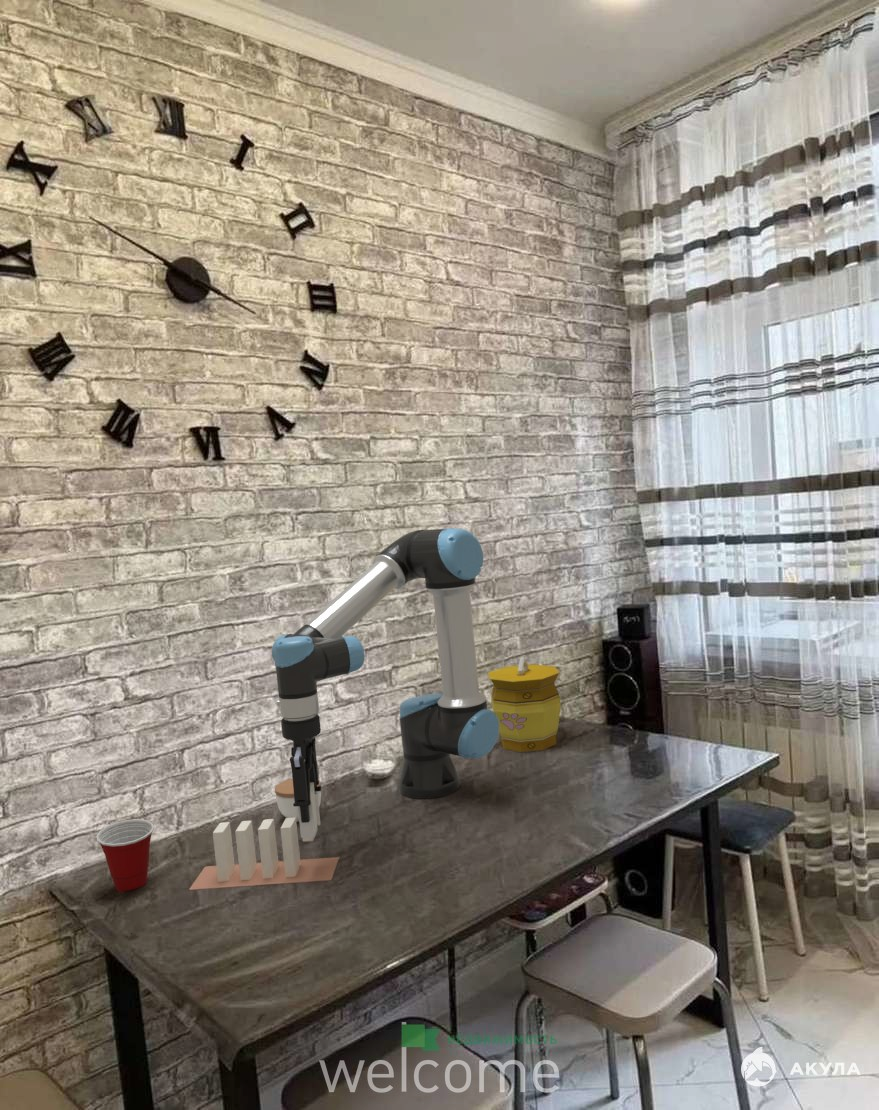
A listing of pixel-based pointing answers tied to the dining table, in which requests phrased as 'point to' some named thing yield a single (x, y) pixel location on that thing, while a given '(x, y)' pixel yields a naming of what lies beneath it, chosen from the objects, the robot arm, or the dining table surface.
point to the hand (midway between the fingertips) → (310, 830)
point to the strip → (306, 873)
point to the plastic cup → (127, 852)
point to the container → (526, 706)
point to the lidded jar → (289, 799)
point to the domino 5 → (312, 797)
